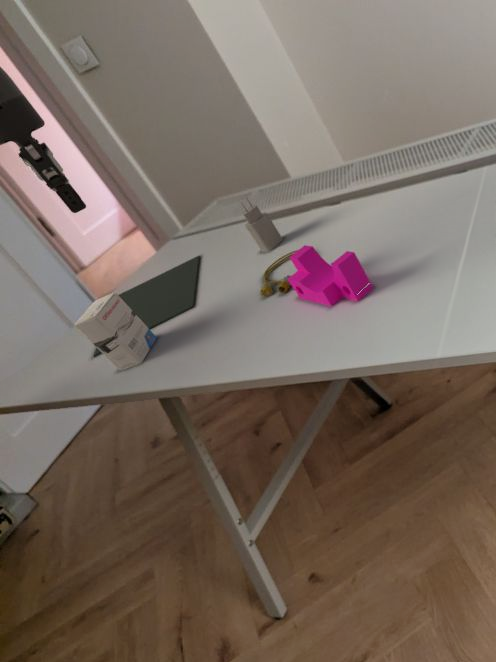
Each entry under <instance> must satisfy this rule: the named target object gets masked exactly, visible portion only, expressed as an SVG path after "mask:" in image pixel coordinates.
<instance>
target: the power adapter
mask: <svg viewBox="0 0 496 662" xmlns="http://www.w3.org/2000/svg"><path fill="white" fill-rule="evenodd" d="M245 200H246V201H247V203H248V204H249V206H250V207H248V208H246V206H245V204H244V203H243V201H240V204H241V205H242V207H243V210H245V211H244V212H242V216H243V217H244V218H245V220H246V221H247V223H246V224H245V225H244V227H245V229H246V230H247V231H248V233H249V234H250V236H251V237H252V239H253V240H254V242H255V244H256V245H257V246H258V248H259V250H261V252H262V253H269V252H272V251H273V250H274V249H275V248H276V247H277V246H278V245H279V244H280V243H281V242H282V241H283V240H284V239H283V237H282V236H281V233H280V232H279V230H278V229H277V227H276V225H275V224H274V222H273V221H272V219H271V218H270V216H269V214H268V212H262V211H261V209H260V208H259V206H258V205H257V204H254V205H253V204H252V203H251V202H250V200H249V199H248V197H245Z"/></svg>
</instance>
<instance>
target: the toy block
mask: <svg viewBox="0 0 496 662" xmlns="http://www.w3.org/2000/svg"><path fill="white" fill-rule="evenodd" d="M297 250H298V251H296V250H295V251H296V252H295V253H294V254H293V253H292V255H291V254H290V255H291V256H290V257H289V258H290V259H289V258H288V259H289V260H290V261H291V262H292V264H293V266H294V267H295V269H296V270H297V271H295V272H294V273H293V274H291V275H290V276H291V277H289V278H288V281H289V282H290V284H291V285H290V286H291V287H292V289H293V290H294V292H295V293H296V295H297V297H298V298H299V299H302V300H306V301H310V302H314V303H318V304H322V305H324V306H325V305H326V306H329V307H333V306H334V305H335V304H336V303H338V301H340V300H341V299H347V300H351V301H355V302H360V300H361V299H363V298H364V297H365V296H367V294H368V293H370V292H371V291H372V290H373V289H374V286H373V284H372V282H371V281H370V279H369V277H368V275H367V273H366V271H365V269H364V268H363V265H362V264H361V261H360V260H359V258H358V256H357V255H356V252H355V251H348V250H346V251H345V252H343V254H341V255H340V256H339V257H338V258H337V259H335V260H334V261H333V262H331V263H328V262H327V261H326V260H325V259H324V258H323V257H322V256H321V255H320V254H319V252H318V251H317V250H316V249H315V247H314V246H312V245H306V244H304V245H303V246H302V247H300V248H299V249H297ZM368 283H370V284H369V285H368V286H367V287H366V288H364V287H365V286H366V285H367V284H368ZM363 288H364V289H363ZM362 289H363V290H362ZM361 290H362V291H361ZM360 291H361V292H360ZM359 292H360V293H359ZM358 293H359V294H358ZM357 294H358V295H357Z"/></svg>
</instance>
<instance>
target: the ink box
mask: <svg viewBox="0 0 496 662" xmlns="http://www.w3.org/2000/svg"><path fill="white" fill-rule="evenodd" d="M119 295H120V294H118V293H117V292H112V293H110V294H107V295H105V296H102V297H100V298H98V299H95V300H94V301H93V302H92V304H91V305H89V306H88V308H87V309H86V310H85V311H84V312H83V314H81V316H80V317H79V319H77V321H76V322H75V323H74V324H73V325H74V327H75V328H76V329H77V330H78V331H80V333H81V334H83V335H84V336H85V337H86V338H87V339H88V340H89V341H90V342H91V343H92V344H93V345H94V346H95V348H98V349H99V350H100V351H101V352H102V354H103V355H104V356H105V357H106V358H107V359H108V361H110V362H111V363H112V364H113V365H114V366H115V368H117V369H118V370H119V371H124V370H126V369H129V368H131V367H135V366H138V365H141V364H142V363H143V361H144V360H145V358H146V356H147V355H148V353H149V352H150V350H151V349H152V347H153V345H154V344H155V342H156V340H157V338H158V337H157V336H156V335H155V334H154V333H153V331H152V329H149V328H148V327H147V326H146V325H145V324H144V323H143V322H142V321H141V320H140V318H139V317H138V316H137V315H136V314H135V313H134V312H133V311H132V310H131V309H130V307H129V306H128V305H127V304H126V303H125V302H124V301H123V300H122V299H121V298H120V297H119Z"/></svg>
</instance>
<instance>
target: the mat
mask: <svg viewBox="0 0 496 662" xmlns="http://www.w3.org/2000/svg"><path fill="white" fill-rule="evenodd" d="M200 258H201V256H200V255H197V256H195V257H193V258H192V259H189V260H187V261H185V262H183V263H181V264H179V265H177V266H175V267H173V268H170V269H169V270H167V271H165V272H162V273H161V274H158V275H157V276H155V277H152V278H150V279H148V280H146V281H144V282H142V283H140V284H137V285H136V286H135V287H134V286H133V287H132V288H130V289H128V290H126V291H124V292H122V293H120V294H118V295H119V297H120V298H121V299H122V300H123V301H124V302H125V303H126V304H127V305H128V306H129V307H130V309H131V310H132V311H133V312H134V313H135V314H136V315H137V316H138V317H139V318H140V320H141V321H142V322H143V323H144V324H145V325H146V326H147V327H148V328H149V329H150V330H152V329H154V328H155V327H157V326H159V325H160V326H161V325H162V324H163V323H166V322H168V321H169V320H172V319H174V318H176V317H177V316H180V315H181V314H184V313H185V312H188V311H189V310H192V309H194V308H195V302H196V293H197V284H198V275H199V267H200ZM102 354H103V353H102V352H101V351H100V350H99V349H98V348H97V347H95V350H94V353H93V357H94V358H95V357H98V356H100V355H102Z"/></svg>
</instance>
